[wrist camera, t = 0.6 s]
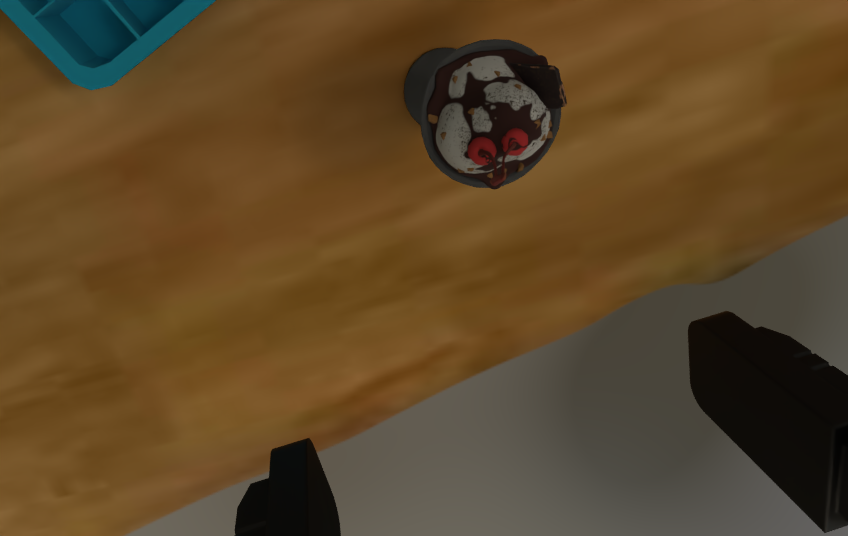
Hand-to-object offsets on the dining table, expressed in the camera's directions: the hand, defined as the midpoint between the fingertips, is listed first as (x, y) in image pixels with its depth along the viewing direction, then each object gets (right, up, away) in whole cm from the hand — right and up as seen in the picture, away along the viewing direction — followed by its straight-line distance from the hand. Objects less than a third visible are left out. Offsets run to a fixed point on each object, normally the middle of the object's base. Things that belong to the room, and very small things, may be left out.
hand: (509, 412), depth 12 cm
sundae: (-1, +14, +25) cm, 28 cm away
